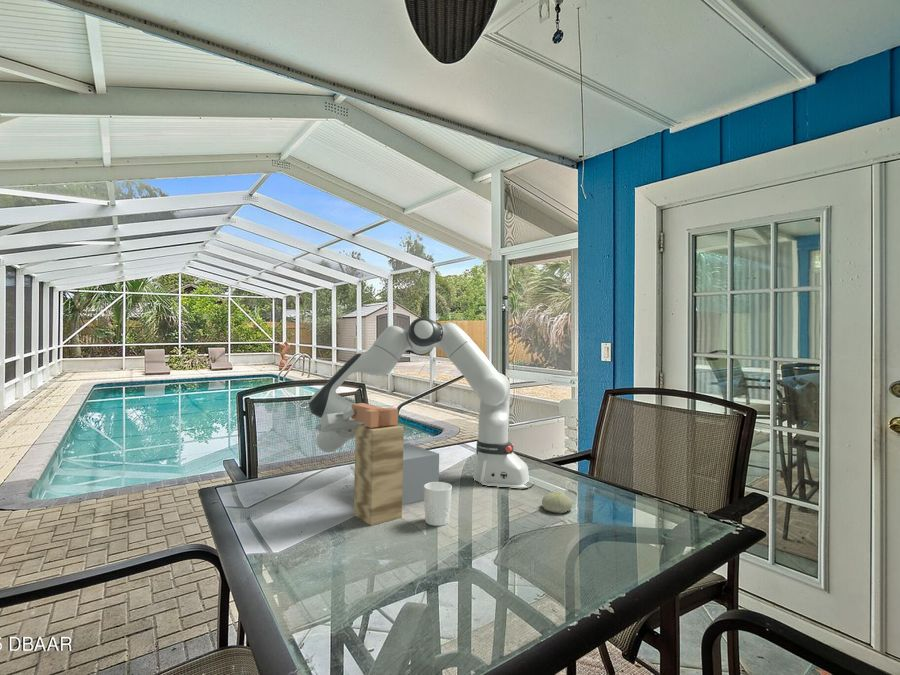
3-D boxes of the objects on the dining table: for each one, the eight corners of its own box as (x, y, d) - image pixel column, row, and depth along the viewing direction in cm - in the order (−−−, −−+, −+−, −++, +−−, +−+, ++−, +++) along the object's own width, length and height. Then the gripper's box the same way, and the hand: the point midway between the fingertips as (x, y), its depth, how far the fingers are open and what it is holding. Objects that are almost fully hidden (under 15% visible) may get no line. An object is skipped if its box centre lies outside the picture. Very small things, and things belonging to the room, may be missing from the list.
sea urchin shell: (536, 505, 143) (542, 482, 148) (541, 518, 148) (547, 495, 153) (567, 511, 139) (572, 487, 144) (571, 524, 143) (576, 500, 149)
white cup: (448, 528, 129) (448, 491, 129) (420, 525, 131) (420, 489, 131) (453, 517, 137) (454, 483, 137) (427, 515, 138) (427, 480, 138)
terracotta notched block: (397, 424, 137) (398, 409, 137) (370, 427, 132) (370, 411, 132) (370, 416, 150) (370, 402, 150) (343, 419, 144) (344, 404, 144)
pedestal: (401, 517, 136) (403, 426, 136) (371, 525, 130) (373, 430, 130) (383, 507, 144) (385, 421, 144) (353, 514, 137) (355, 424, 137)
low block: (438, 496, 154) (439, 453, 154) (399, 506, 145) (400, 460, 145) (407, 482, 168) (407, 443, 168) (369, 490, 159) (370, 448, 159)
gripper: (311, 420, 148) (328, 403, 139) (368, 415, 161) (388, 398, 152) (315, 440, 146) (332, 423, 137) (373, 432, 159) (393, 417, 150)
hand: (362, 410), depth 144 cm, fingers closed on terracotta notched block, 4 cm apart
